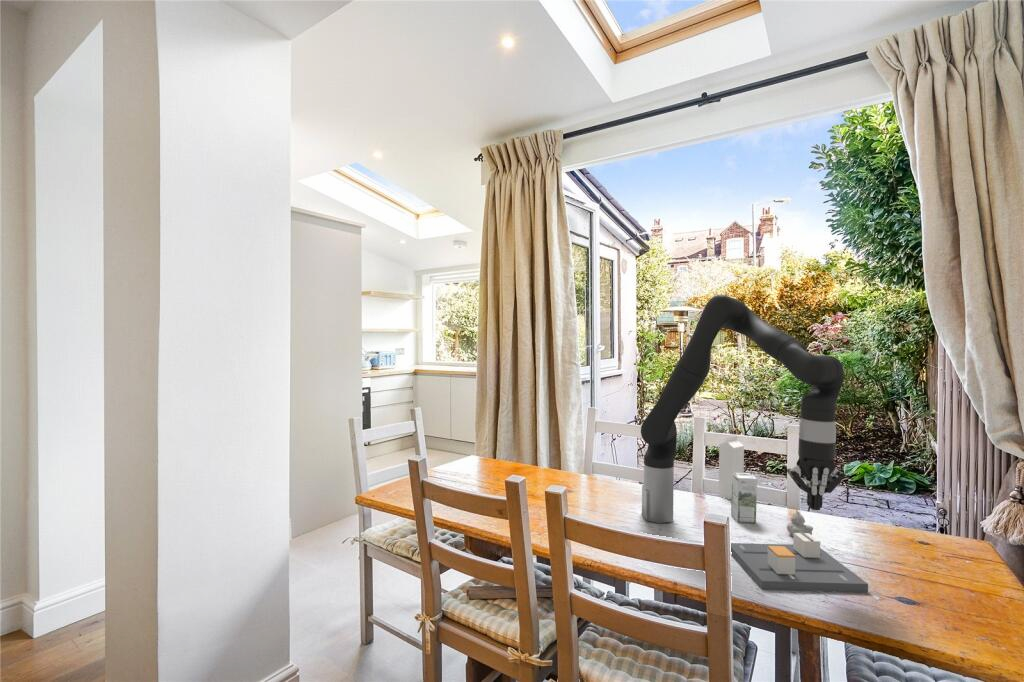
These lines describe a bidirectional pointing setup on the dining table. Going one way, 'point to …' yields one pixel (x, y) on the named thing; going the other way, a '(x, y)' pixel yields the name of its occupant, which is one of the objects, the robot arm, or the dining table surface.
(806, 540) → the cream cap
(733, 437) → the milk
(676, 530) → the dining table surface
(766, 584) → the fader console
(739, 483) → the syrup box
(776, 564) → the orange fader cap
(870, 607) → the dining table surface
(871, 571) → the dining table surface
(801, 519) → the grey figurine
